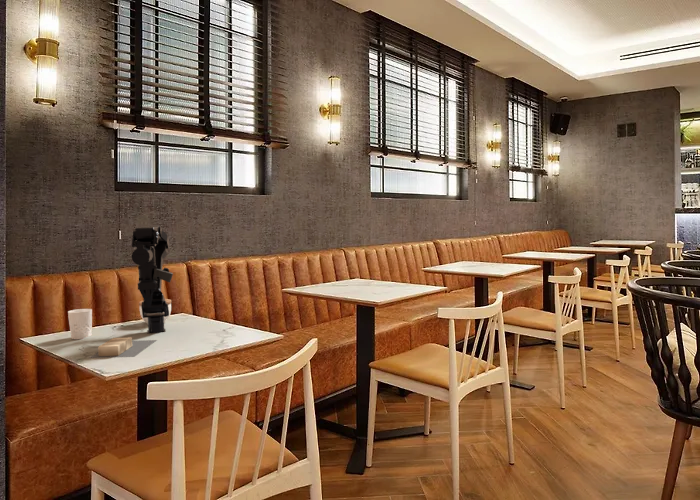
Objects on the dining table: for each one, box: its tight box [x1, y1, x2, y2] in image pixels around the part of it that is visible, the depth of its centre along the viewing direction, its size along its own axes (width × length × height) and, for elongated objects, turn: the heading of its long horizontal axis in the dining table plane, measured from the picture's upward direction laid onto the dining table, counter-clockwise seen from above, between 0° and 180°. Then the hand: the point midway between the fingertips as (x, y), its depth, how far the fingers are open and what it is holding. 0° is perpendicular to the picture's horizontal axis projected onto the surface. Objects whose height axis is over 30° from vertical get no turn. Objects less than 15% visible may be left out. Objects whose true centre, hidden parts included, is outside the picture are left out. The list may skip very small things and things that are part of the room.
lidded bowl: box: [138, 298, 172, 325], centre depth 222 cm, size 13×13×11 cm
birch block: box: [97, 336, 133, 356], centre depth 174 cm, size 3×6×12 cm
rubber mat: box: [89, 339, 158, 359], centre depth 178 cm, size 22×14×1 cm, turn 2°
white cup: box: [67, 308, 93, 340], centre depth 199 cm, size 8×8×10 cm
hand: (149, 306), depth 191 cm, fingers closed
